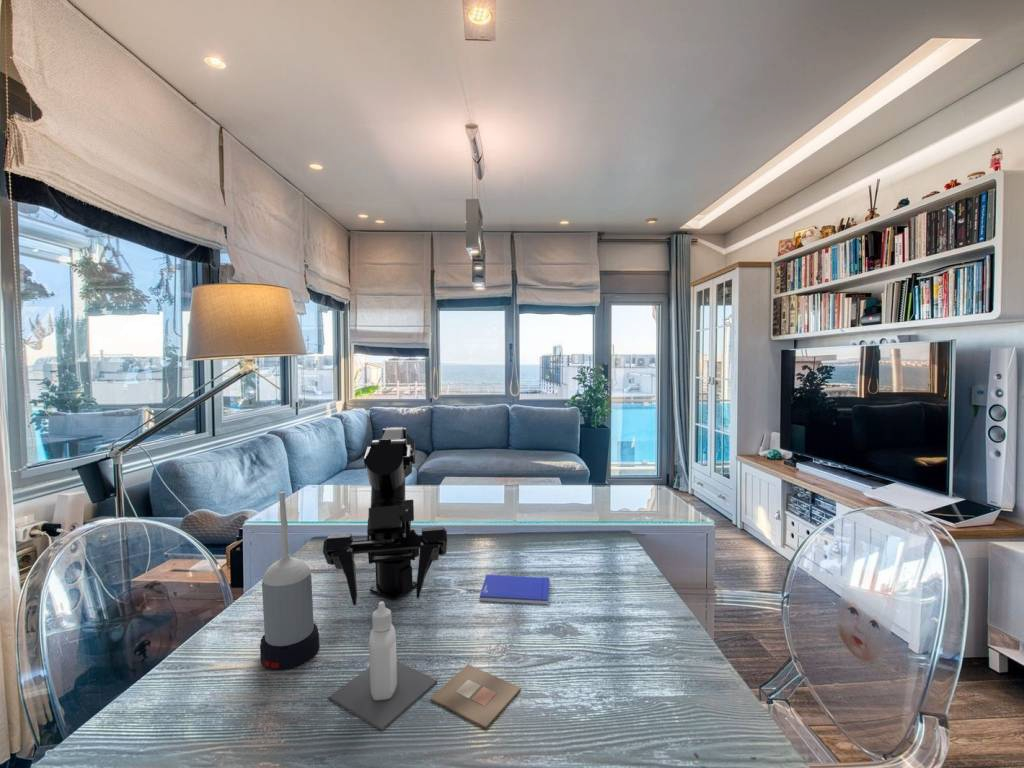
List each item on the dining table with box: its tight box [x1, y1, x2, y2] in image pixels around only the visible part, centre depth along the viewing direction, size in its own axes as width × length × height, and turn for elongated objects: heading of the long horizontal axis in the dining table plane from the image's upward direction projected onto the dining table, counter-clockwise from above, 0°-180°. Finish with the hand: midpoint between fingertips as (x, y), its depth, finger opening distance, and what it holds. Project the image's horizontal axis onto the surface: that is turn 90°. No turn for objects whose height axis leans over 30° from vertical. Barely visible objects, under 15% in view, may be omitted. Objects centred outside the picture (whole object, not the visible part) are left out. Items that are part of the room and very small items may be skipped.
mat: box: [328, 660, 438, 731], centre depth 67 cm, size 10×10×1 cm
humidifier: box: [259, 490, 320, 672], centre depth 74 cm, size 8×8×25 cm
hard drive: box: [479, 574, 550, 605], centre depth 93 cm, size 2×8×12 cm
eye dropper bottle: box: [368, 601, 398, 701], centre depth 67 cm, size 4×6×12 cm
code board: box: [429, 663, 522, 730], centre depth 66 cm, size 9×8×1 cm
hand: (386, 601), depth 74 cm, fingers open, 9 cm apart
